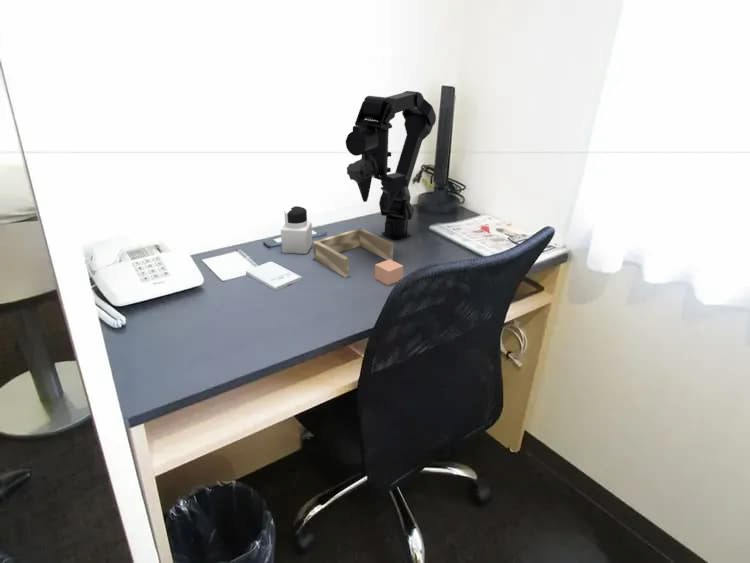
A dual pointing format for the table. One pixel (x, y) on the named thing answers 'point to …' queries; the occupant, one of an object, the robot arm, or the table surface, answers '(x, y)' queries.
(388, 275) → the terracotta block
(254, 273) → the external hard drive
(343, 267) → the open wooden frame
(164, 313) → the table surface
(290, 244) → the medicine bottle
